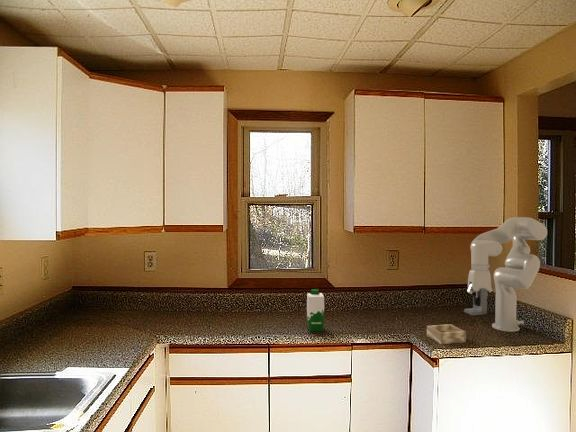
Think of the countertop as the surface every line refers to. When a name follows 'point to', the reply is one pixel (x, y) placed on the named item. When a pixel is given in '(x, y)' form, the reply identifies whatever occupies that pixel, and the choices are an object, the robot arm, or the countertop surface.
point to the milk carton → (315, 310)
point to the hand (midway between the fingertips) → (479, 304)
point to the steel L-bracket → (479, 304)
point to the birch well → (446, 334)
